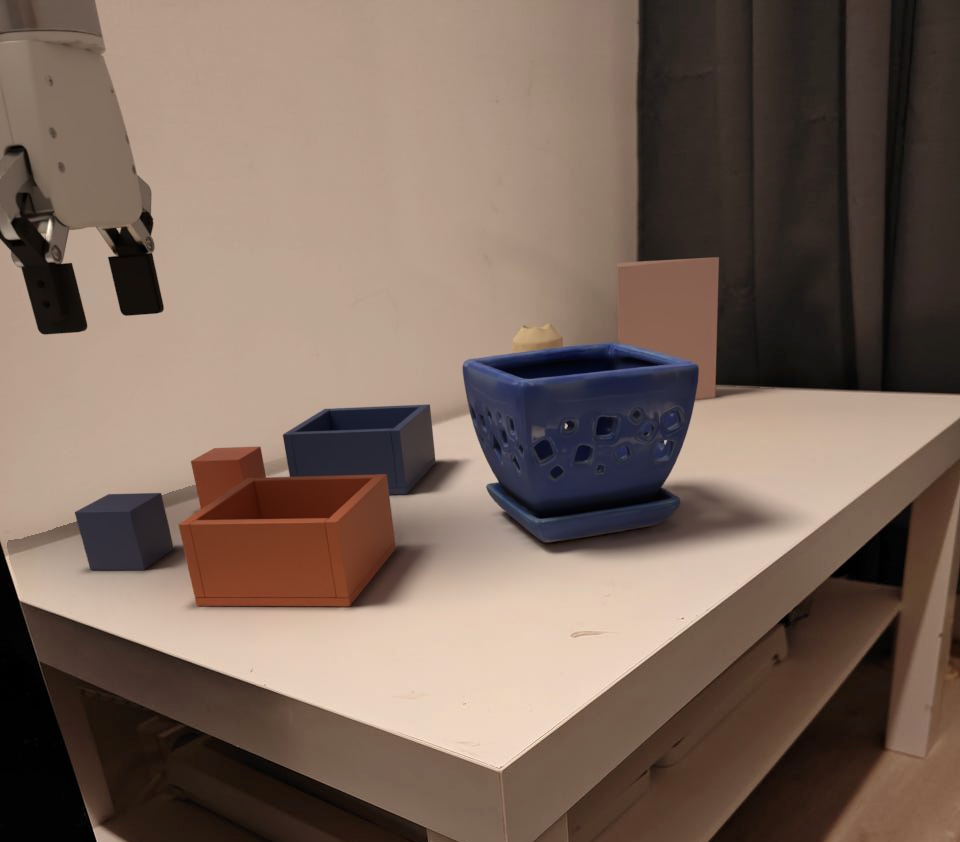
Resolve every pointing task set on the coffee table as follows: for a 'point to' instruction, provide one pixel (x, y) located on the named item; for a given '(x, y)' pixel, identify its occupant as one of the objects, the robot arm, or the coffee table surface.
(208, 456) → the terracotta block
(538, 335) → the candle
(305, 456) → the navy bin
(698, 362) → the greeting card
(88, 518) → the navy block
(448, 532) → the coffee table surface
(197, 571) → the terracotta bin
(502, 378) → the flower pot
